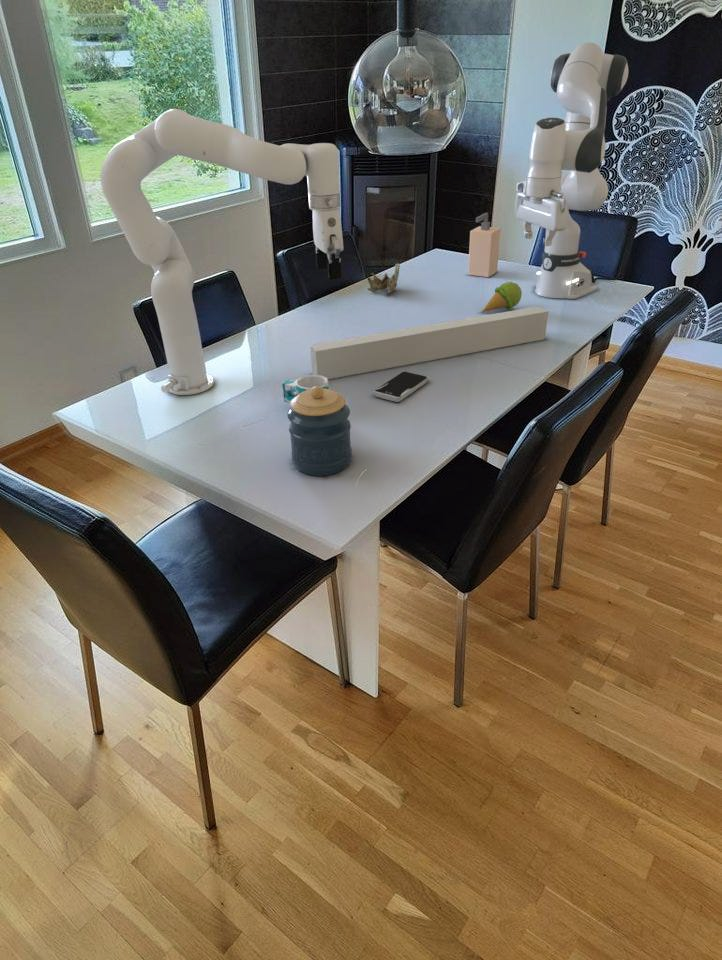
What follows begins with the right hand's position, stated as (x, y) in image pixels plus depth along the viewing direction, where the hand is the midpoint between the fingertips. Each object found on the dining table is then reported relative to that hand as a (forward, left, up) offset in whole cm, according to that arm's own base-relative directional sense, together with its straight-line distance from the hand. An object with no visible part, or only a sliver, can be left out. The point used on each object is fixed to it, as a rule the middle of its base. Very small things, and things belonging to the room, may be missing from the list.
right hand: (537, 241), depth 185 cm
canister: (+85, +26, -28) cm, 93 cm away
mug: (+76, +3, -28) cm, 81 cm away
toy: (-11, -25, -25) cm, 37 cm away
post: (+30, -7, -28) cm, 42 cm away
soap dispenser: (-33, -60, -28) cm, 74 cm away
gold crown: (+6, -66, -28) cm, 72 cm away
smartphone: (+50, +6, -28) cm, 58 cm away
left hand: (+59, -13, -1) cm, 61 cm away
